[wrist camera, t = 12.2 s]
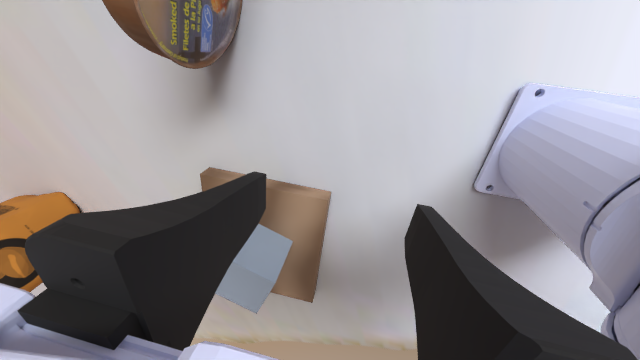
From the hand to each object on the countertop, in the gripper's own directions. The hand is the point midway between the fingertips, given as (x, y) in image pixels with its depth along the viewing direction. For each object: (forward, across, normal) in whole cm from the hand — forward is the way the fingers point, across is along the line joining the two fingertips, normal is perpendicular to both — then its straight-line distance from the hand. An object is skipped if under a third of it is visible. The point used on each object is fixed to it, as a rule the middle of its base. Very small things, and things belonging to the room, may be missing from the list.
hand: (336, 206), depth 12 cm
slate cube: (+8, +7, +12) cm, 16 cm away
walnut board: (+9, +7, +12) cm, 17 cm away
